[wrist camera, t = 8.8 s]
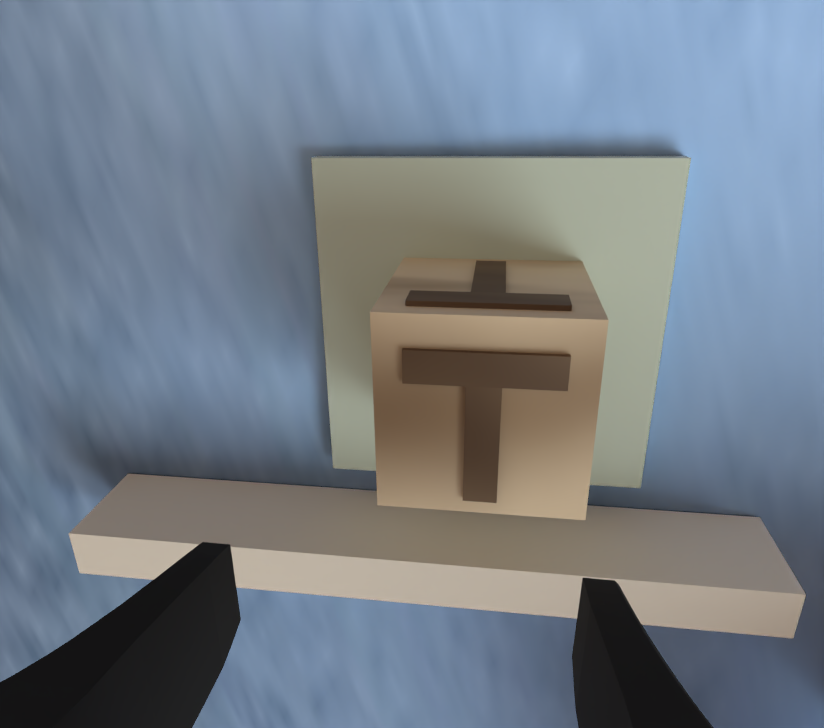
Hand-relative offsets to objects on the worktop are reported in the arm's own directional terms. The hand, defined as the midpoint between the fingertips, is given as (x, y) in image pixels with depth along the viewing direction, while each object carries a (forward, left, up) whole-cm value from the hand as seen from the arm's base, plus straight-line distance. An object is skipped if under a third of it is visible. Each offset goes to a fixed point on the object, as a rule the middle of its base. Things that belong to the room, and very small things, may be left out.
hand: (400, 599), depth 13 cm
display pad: (+3, -1, -9) cm, 9 cm away
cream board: (-4, +1, -9) cm, 9 cm away
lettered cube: (+3, -1, -8) cm, 8 cm away
